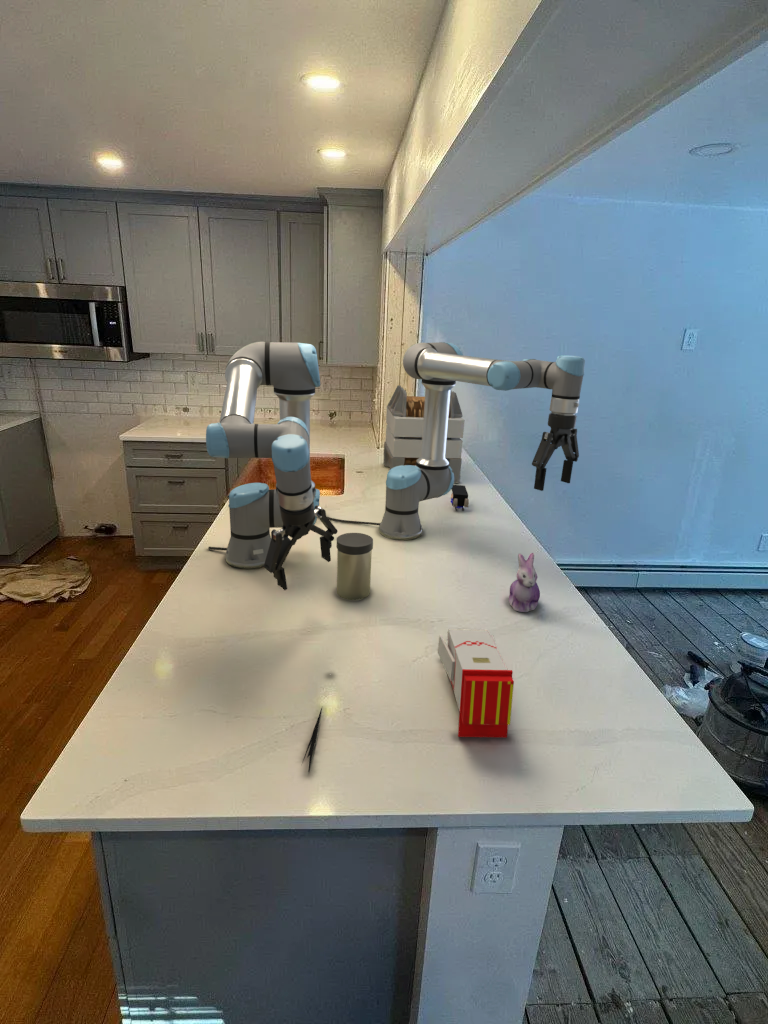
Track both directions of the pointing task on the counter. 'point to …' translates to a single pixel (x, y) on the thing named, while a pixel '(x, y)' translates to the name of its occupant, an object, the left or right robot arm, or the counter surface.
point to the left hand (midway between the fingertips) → (305, 572)
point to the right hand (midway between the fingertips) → (552, 485)
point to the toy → (478, 682)
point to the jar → (353, 575)
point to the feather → (313, 740)
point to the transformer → (419, 431)
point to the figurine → (525, 586)
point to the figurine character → (459, 497)
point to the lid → (354, 543)
